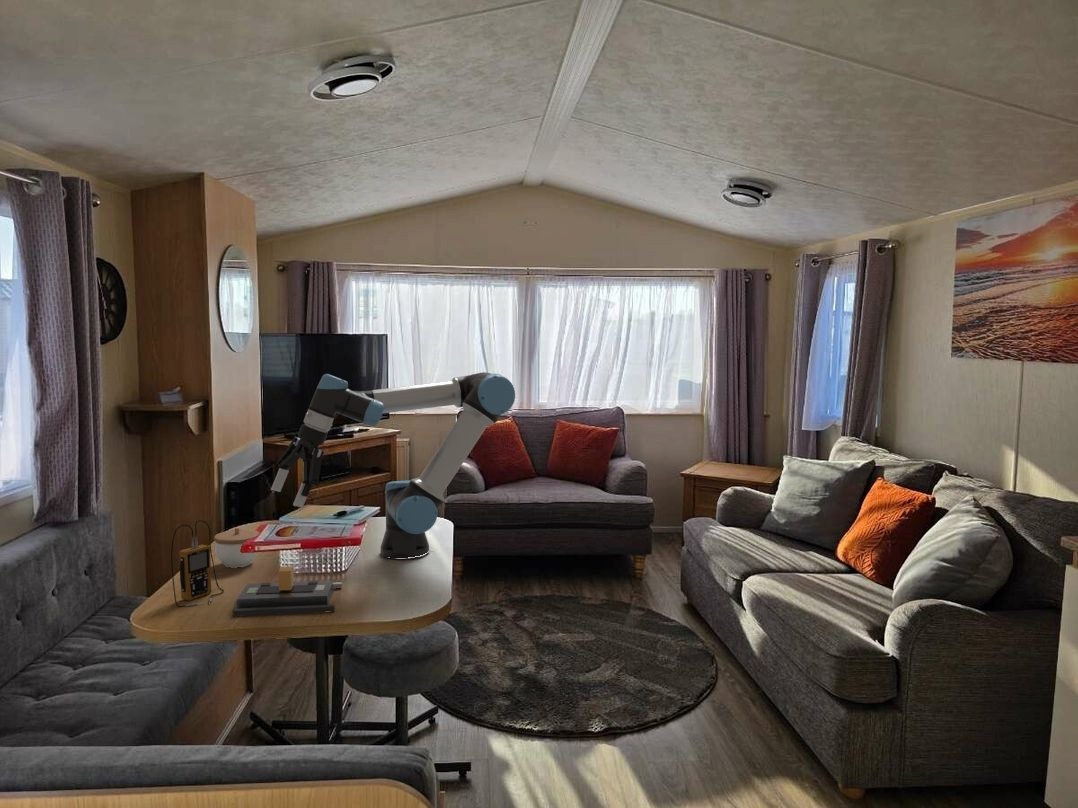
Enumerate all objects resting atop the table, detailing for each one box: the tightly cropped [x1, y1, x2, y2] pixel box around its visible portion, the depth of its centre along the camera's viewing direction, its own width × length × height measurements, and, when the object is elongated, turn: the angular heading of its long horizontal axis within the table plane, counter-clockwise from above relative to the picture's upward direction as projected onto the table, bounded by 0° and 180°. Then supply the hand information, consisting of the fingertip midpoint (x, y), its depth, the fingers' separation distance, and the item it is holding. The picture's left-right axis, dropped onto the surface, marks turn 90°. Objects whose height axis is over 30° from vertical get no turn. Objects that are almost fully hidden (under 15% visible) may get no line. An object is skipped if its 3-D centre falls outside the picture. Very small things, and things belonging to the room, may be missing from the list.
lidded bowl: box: [213, 527, 260, 569], centre depth 229 cm, size 13×13×11 cm
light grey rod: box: [333, 581, 343, 590], centre depth 208 cm, size 24×1×1 cm, turn 98°
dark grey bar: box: [232, 604, 336, 617], centre depth 190 cm, size 24×1×1 cm, turn 98°
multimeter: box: [170, 519, 225, 608], centre depth 199 cm, size 15×10×20 cm
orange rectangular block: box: [278, 565, 295, 591], centre depth 199 cm, size 3×4×5 cm
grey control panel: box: [235, 580, 334, 609], centre depth 199 cm, size 22×12×3 cm, turn 98°
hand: (286, 498), depth 215 cm, fingers open, 13 cm apart
